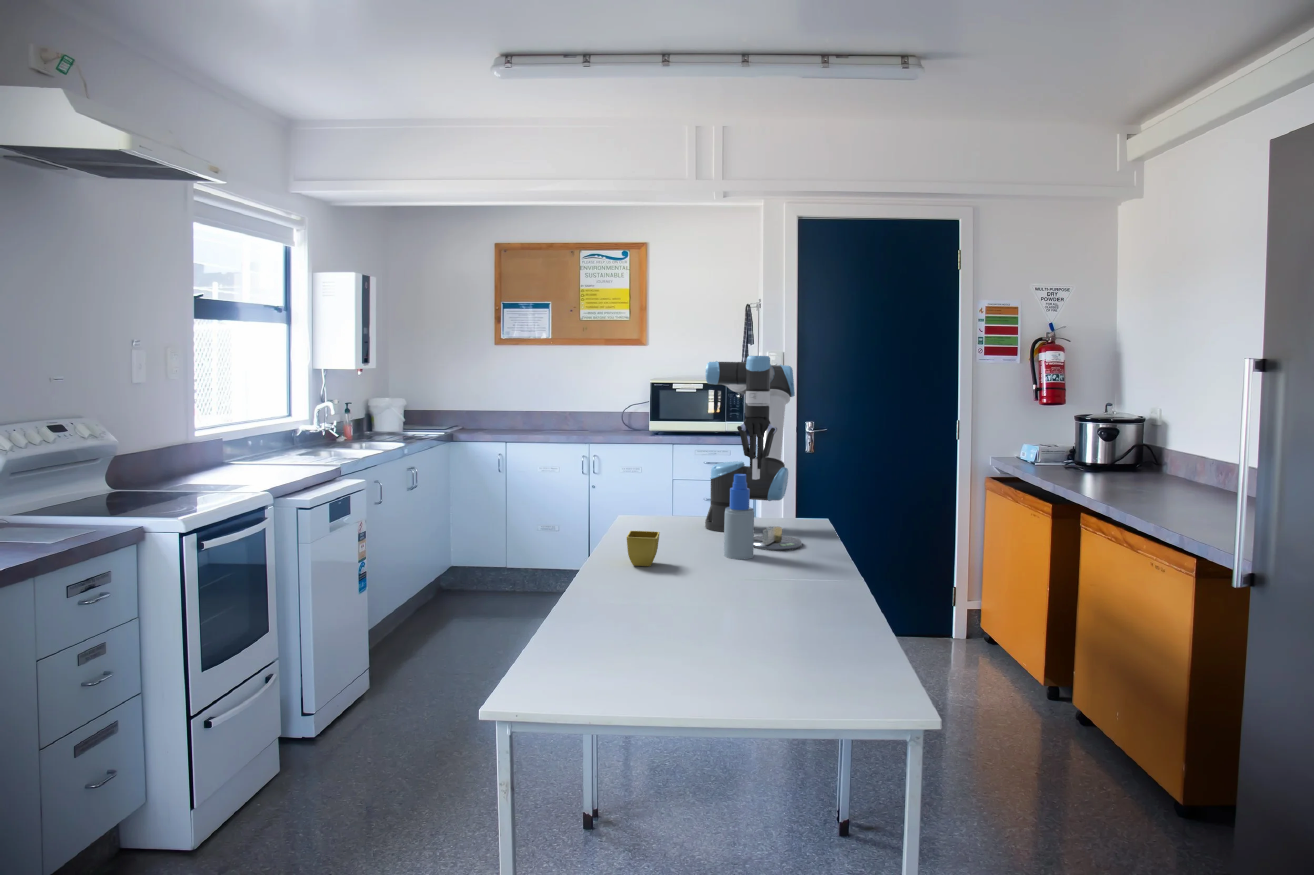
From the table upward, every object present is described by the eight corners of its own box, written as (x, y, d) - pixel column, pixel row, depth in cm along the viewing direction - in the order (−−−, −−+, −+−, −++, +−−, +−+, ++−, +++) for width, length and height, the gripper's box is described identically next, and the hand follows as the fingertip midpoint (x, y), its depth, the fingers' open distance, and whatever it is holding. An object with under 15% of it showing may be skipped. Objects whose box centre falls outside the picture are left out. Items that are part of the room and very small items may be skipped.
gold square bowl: (659, 561, 238) (659, 531, 238) (656, 568, 230) (656, 537, 229) (630, 560, 239) (630, 530, 238) (626, 567, 231) (626, 536, 230)
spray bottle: (751, 552, 250) (753, 472, 248) (754, 559, 241) (756, 476, 239) (723, 552, 250) (724, 472, 248) (724, 559, 241) (726, 476, 239)
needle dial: (770, 537, 264) (771, 523, 263) (783, 539, 262) (784, 525, 261) (758, 544, 254) (759, 529, 254) (771, 546, 252) (772, 531, 252)
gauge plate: (754, 537, 272) (754, 532, 271) (805, 541, 266) (805, 536, 266) (743, 548, 256) (743, 543, 255) (796, 552, 250) (796, 548, 250)
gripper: (733, 404, 254) (732, 478, 256) (772, 405, 248) (771, 482, 250) (742, 403, 261) (741, 475, 263) (781, 404, 254) (779, 479, 257)
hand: (755, 478), depth 257 cm, fingers closed
